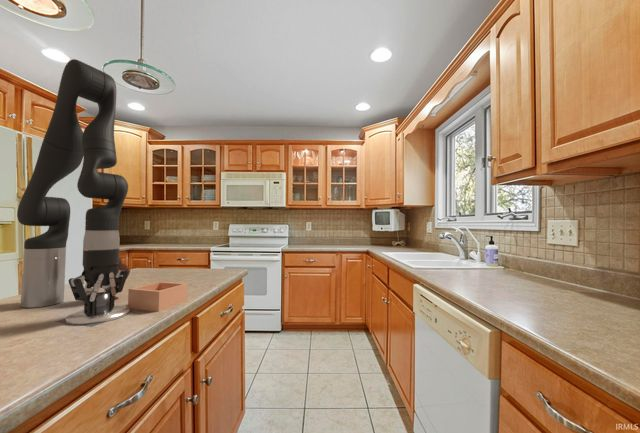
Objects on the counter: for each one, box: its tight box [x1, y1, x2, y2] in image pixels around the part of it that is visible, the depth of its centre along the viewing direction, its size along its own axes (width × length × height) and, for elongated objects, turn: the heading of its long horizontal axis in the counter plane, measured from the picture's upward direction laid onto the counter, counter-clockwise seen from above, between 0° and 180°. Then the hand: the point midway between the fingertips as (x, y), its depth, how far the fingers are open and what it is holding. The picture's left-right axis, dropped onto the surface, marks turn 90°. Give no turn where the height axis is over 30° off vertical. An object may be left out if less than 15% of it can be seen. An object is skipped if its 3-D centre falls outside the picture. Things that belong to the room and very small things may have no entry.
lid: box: [65, 291, 131, 326], centre depth 71 cm, size 13×13×6 cm
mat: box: [55, 309, 139, 328], centre depth 71 cm, size 12×12×1 cm
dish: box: [127, 281, 189, 312], centre depth 82 cm, size 11×11×6 cm
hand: (99, 312), depth 71 cm, fingers closed on lid, 4 cm apart
